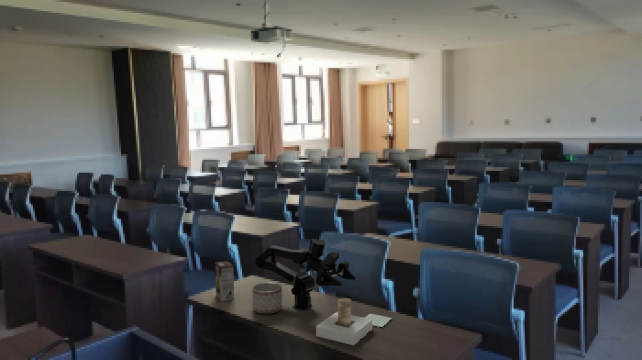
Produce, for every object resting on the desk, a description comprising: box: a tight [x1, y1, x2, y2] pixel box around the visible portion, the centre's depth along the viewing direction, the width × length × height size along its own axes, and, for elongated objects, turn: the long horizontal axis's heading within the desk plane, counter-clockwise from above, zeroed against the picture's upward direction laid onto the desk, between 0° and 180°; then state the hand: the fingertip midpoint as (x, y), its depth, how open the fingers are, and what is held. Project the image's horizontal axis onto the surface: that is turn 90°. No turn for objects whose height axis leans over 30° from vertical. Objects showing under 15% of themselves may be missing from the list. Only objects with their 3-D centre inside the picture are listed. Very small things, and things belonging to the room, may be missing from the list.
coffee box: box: [214, 260, 235, 302], centre depth 228 cm, size 9×6×16 cm
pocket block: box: [315, 311, 373, 346], centre depth 189 cm, size 16×16×4 cm
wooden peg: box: [337, 297, 352, 328], centre depth 189 cm, size 5×5×13 cm
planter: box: [251, 281, 283, 314], centre depth 213 cm, size 13×13×10 cm
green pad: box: [364, 313, 393, 328], centre depth 200 cm, size 10×10×1 cm
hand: (348, 281), depth 199 cm, fingers open, 9 cm apart
